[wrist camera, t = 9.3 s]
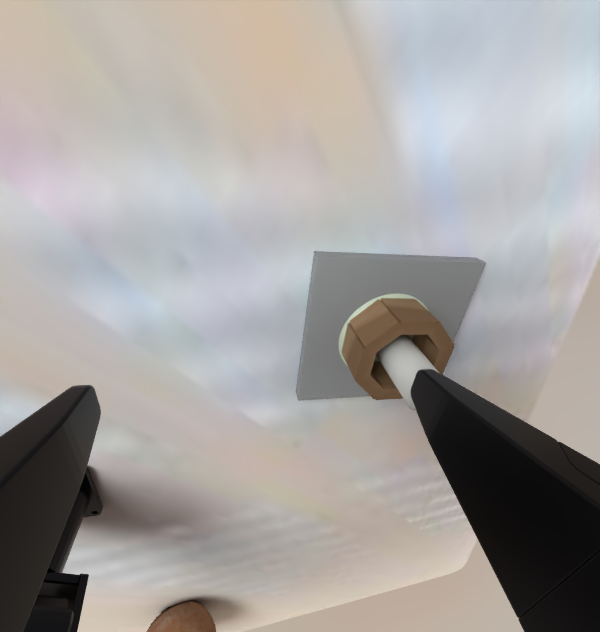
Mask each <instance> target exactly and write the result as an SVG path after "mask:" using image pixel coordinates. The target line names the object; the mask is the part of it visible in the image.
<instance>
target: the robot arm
mask: <svg viewBox="0 0 600 632" xmlns="http://www.w3.org/2000/svg"><path fill="white" fill-rule="evenodd" d="M410 393H411V398H412V400H413V403H414V406H415V408H416V411H417V413H418V416H419V418H420V421H421V424H422V426H423V429H424V431H425V434H426V436H427V439H428V441H429V443H430V445H431V447H432V450H433V451H434V453H435V455H436V457H437V459H438V461H439V463H440V465H441V467H442V469H443V471H444V473H445V475H446V477H447V479H448V481H449V483H450V485H451V487H452V489H453V491H454V493H455V495H456V497H457V499H458V501H459V503H460V505H461V507H462V509H463V511H464V513H465V515H466V517H467V519H468V521H469V523H470V525H471V527H472V529H473V531H474V532H475V534H476V536H477V538H478V540H479V542H480V544H481V546H482V548H483V550H484V552H485V554H486V556H487V558H488V560H489V562H490V564H491V566H492V568H493V570H494V572H495V574H496V575H497V578H498V580H499V582H500V584H501V586H502V588H503V590H504V592H505V594H506V596H507V598H508V600H509V601H510V604H511V605H512V608H513V609H514V611H515V613H516V615H517V617H518V618H519V621H520V624H521V626H522V628H523V630H524V632H600V464H598V463H597V462H595V461H593V460H591V459H589V458H587V457H586V456H584V455H582V454H580V453H578V452H577V451H575V450H573V449H571V448H570V447H568V446H566V445H564V444H563V443H561V442H557V440H555V439H554V438H552V437H550V436H549V435H547V434H545V433H543V432H542V431H540V430H538V429H536V428H534V427H533V426H531V425H529V424H528V423H526V422H524V421H522V420H521V419H519V418H517V417H515V416H514V415H512V414H510V413H508V412H507V411H505V410H503V409H501V408H500V407H498V406H496V405H494V404H493V403H491V402H489V401H487V400H486V399H484V398H482V397H480V396H479V395H477V394H475V393H473V392H472V391H470V390H468V389H466V388H465V387H463V386H461V385H459V384H458V383H456V382H454V381H452V380H451V379H449V378H447V377H445V376H443V375H442V374H440V373H438V372H436V371H435V370H433V369H421V370H419V371H418V372H417V373H416V376H415V379H414V381H413V384H412V387H411V391H410ZM100 415H101V410H100V406H99V402H98V399H97V396H96V392H95V389H94V387H93V386H91V385H78V386H72V387H71V388H69V389H67V390H66V391H65V392H63V393H62V394H60V395H59V396H58V397H56V398H55V399H53V400H52V401H50V402H49V403H48V404H46V405H45V406H43V407H42V408H40V409H39V410H38V411H36V412H35V413H33V414H32V415H31V416H29V417H28V418H26V419H25V420H23V421H22V422H21V423H19V424H18V425H16V426H15V427H13V428H12V429H11V430H9V431H8V432H6V433H5V434H3V435H2V436H1V437H0V632H77V629H78V624H79V620H80V615H81V610H82V605H83V600H84V595H85V591H86V586H87V581H88V576H89V575H88V574H80V575H75V574H65V573H62V572H63V569H64V566H65V564H66V561H67V559H68V556H69V553H70V551H71V548H72V546H73V543H74V540H75V538H76V535H77V532H78V530H79V527H80V525H81V522H82V519H83V517H89V516H96V515H99V514H101V512H102V509H103V507H102V504H101V502H100V499H99V496H98V494H97V491H96V488H95V486H94V483H93V481H92V478H91V475H90V473H89V470H88V469H87V464H88V461H89V457H90V453H91V450H92V446H93V442H94V438H95V435H96V431H97V427H98V424H99V420H100Z"/></svg>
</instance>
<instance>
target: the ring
mask: <svg viewBox="0 0 600 632" xmlns="http://www.w3.org/2000/svg"><path fill="white" fill-rule="evenodd" d="M349 322H350V323H348V324H347V329H346V333H345V338H344V342H343V347H342V351H341V352H342V355H343V357H344V359H345V361H346V363H347V365H348V367H349V369H350V371H351V373H352V375H353V377H354V379H355V381H356V382H357V383H358V384H359V385H360V386H361V387H362V388H363V389H364V390H365V391H366V392H367V393H368V394H369V395H370V396H371V397H372V398H373V399H376V400H383V399H399V398H403V397H402V395H401V394H400V392H399V391H398V389H397V387H396V386H395V384H394V383H393V381H392V380H391V378H390V376H389V375H388V373H387V372H386V370H385V369H384V367H383V365H382V364H381V362H380V361H374V360H375V357H376V353H377V352H378V351H379V350H381V349H382V348H384V347H385V346H386V345H388V344H389V343H391V342H392V341H393V340H395V339H396V338H398V337H399V336H400V335H414V336H413V339H412V341H413V343H414V344H415V345H416V346H417V347H418V348H419V350H420V351H421V352H422V353H423V354H424V355H425V357H426V358H427V359H428V360H429V361H430V363H431V364H432V365H433V366H434V367H435V368H436V370H437V371H438V372H439V373H440V374H443V372H444V369H445V367H446V365H447V363H448V360H449V358H450V356H451V353H452V351H453V349H454V346H453V345H454V343H453V342H452V340H451V338H450V337H449V335H448V334H447V332H446V331H445V329H444V327H443V326H442V324H441V323H440V321H438V320H437V319H436V318H435V317H434V316H433V315H432V314H431V313H430V312H429V311H428V310H427V309H425V308H424V307H423V306H422V305H421V304H420V303H419V302H418V301H417V300H415V299H410V298H381V300H379V299H378V300H376V301H375V302H374V303H372V304H371V305H370V306H368V307H367V308H366V309H364V310H363V311H362V312H360V313H359V314H358V315H356V316H355V317H354V318H352V319H351V320H350V321H349Z"/></svg>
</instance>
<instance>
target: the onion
mask: <svg viewBox="0 0 600 632" xmlns="http://www.w3.org/2000/svg"><path fill="white" fill-rule="evenodd" d="M169 608H170V609H169ZM150 625H151V626H150V627H149V629H148V630H147V631H148V632H216V628H215V624H214V621H213V618H212V616H211V615H210V613H209V612H208V611H207V609H206V608H205V607H204V606H202V605H200V604H199V603H196V602H192V601H188V602H185V603H181V604H179V605H176V606H173V607H168V608H167V609H166V610H164V611H163V612H161V614H160V615H159V616H158V617H156V619H155V620H154V622H153V623H151V624H150Z"/></svg>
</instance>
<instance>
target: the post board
mask: <svg viewBox="0 0 600 632" xmlns="http://www.w3.org/2000/svg"><path fill="white" fill-rule="evenodd" d="M485 264H486V263H485V262H483V261H481V260H479V259H477V258H464V257H439V256H415V255H390V254H365V253H341V252H316V251H314V258H313V266H312V273H311V281H310V289H309V296H308V304H307V312H306V319H305V327H304V334H303V342H302V350H301V357H300V365H299V373H298V380H297V388H296V393H297V398H298V400H313V399H329V398H344V397H360V396H370V395H369V394H368V393H367V392H366V391H365V390H364V389H363V388H362V387H361V386H360V385H359V384H358V383H357V382H356V381H355V379H354V377H353V375H352V373H351V371H350V369H349V367H348V365H347V363H346V361H345V359H344V357H343V355H342V352H341V351H342V347H343V342H344V338H345V333H346V329H347V324H348V323H350V322H349V321H350V320H351V319H352V318H354V317H355V316H356V315H358V314H359V313H360V312H362V311H363V310H364V309H366V308H367V307H368V306H370V305H371V304H372V303H374V302H375V301H376V300H378V299H379V300H381V298H410V299H415V300H417V301H418V302H419V303H420V304H421V305H422V306H423V307H424V308H425V309H427V310H428V311H429V312H430V313H431V314H432V315H433V316H434V317H435V318H436V319H437V320H438V321H440V323H441V324H442V326H443V327H444V329H445V331H446V332H447V334H448V335H449V337H450V338H451V340H452V342H453V340H454V337H455V335H456V333H457V330H458V328H459V326H460V323H461V321H462V319H463V316H464V314H465V312H466V309H467V307H468V304H469V302H470V300H471V297H472V295H473V293H474V290H475V288H476V286H477V283H478V281H479V278H480V276H481V274H482V271H483V269H484V267H485ZM413 336H414V335H400V336H399V337H398V338H396V339H395V340H393V341H392V342H391V343H389V344H388V345H386V346H385V347H384V348H382V349H381V350H379V351H378V352H377V353H376V357H375V360H374V361H380V362H381V364H382V365H383V367H384V369H385V370H386V372H387V373H388V375H389V376H390V378H391V380H392V381H393V383H394V384H395V386H396V387H397V389H398V391H399V392H400V394H401V395H402V397H403V398H404V400H405V402H406V403H407V405H408V406H409V407H410V408H411V409H412V410H416V408H415V406H414V403H413V400H412V398H411V393H410V391H411V387H412V384H413V381H414V379H415V376H416V373H417V372H418V371H419V370H421V369H433V370H435V371H436V372H438V371H437V370H436V368H435V367H434V366H433V365H432V364H431V363H430V361H429V360H428V359H427V358H426V357H425V355H424V354H423V353H422V352H421V351H420V350H419V348H418V347H417V346H416V345H415V344H414V343H413V341H412V339H413ZM438 373H439V372H438Z"/></svg>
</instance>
